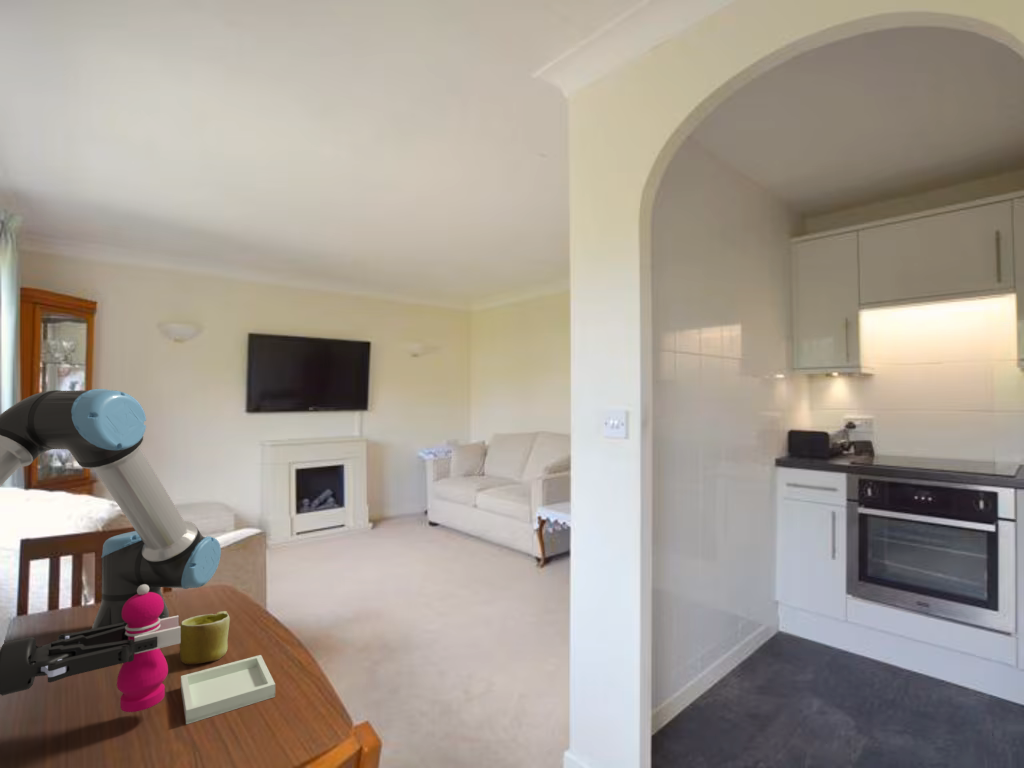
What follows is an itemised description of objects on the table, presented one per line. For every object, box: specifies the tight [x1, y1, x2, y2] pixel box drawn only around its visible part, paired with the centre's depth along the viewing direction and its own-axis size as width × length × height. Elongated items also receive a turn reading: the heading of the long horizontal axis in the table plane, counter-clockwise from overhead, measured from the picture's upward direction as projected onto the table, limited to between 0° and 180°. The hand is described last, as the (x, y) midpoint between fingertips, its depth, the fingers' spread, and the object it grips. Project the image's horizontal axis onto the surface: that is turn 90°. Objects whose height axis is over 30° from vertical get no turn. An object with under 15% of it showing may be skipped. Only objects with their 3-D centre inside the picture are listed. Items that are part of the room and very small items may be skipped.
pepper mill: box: [116, 584, 169, 713], centre depth 91 cm, size 7×7×20 cm
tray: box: [180, 654, 276, 725], centre depth 99 cm, size 14×14×2 cm
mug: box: [179, 610, 231, 665], centre depth 114 cm, size 12×10×10 cm
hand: (179, 628), depth 94 cm, fingers closed on pepper mill, 5 cm apart
